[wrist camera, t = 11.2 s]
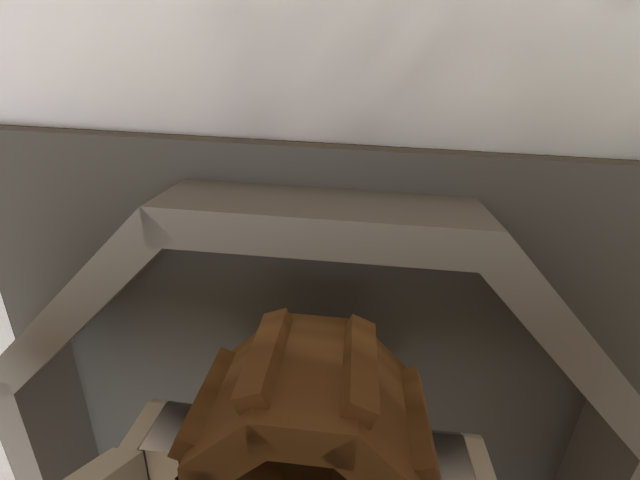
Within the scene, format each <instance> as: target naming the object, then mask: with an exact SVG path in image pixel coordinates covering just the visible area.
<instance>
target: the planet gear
mask: <svg viewBox="0 0 640 480" xmlns="http://www.w3.org/2000/svg"><path fill="white" fill-rule="evenodd" d="M167 457H169V458H172V459H174V460H177V461H179V462H180V464H179V466H178V468H177V471H178V478H179V480H441V475H440V470H439V465H438V460H437V455H436V450H435V445H434V440H433V435H432V430H431V425H430V420H429V415H428V410H427V405H426V400H425V395H424V389H423V384H422V381H421V378H420V375H419V372H418V369H417V366H413V367H408V368H406V367H405V366H404V365H403V364H402V363H401V362H400V361H399V360H398V358H397V357H396V356H395V355H394V354H393V353H392V352H391V351H390V350H389V349H388V348H387V347H386V346H385V345H384V344H383V343H382V342H381V341H380V340H379V339H378V338H377V337H376V326H375V323H372V322H370V321H368V320H366V319H363V318H361V317H359V316H357V315H355V314H352V316H351V317H350V318H339V317H328V316H317V315H306V314H295V313H289V312H288V310H287V308H284V309H280V310H276V311H272V312H268V313H265V314H264V315H263V317H262V320H261V322H260V325H259V327H258V330H257V332H255V333H254V334H253V335H252V336H250V337H249V338H248V339H246V340H245V341H244V342H242V343H241V344H240V345H238V346H237V347H236V348H234V349H233V350H232V351H230V350H228V349H225V348H223V347H221V348H220V350H219V352H218V354H217V356H216V358H215V360H214V362H213V364H212V366H211V368H210V370H209V372H208V374H207V376H206V378H205V380H204V382H203V384H202V386H201V388H200V390H199V392H198V394H197V396H196V398H195V400H194V402H193V404H192V406H191V408H190V410H189V412H188V414H187V416H186V418H185V420H184V422H183V424H182V426H181V428H180V430H179V432H178V434H177V436H176V438H175V440H174V442H173V444H172V446H171V449H170V451H169V453H168V455H167Z"/></svg>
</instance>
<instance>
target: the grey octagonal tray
mask: <svg viewBox="0 0 640 480" xmlns="http://www.w3.org/2000/svg"><path fill="white" fill-rule="evenodd" d="M0 292H1V295H2V298H3V302H4V305H5V308H6V311H7V314H8V317H9V320H10V324H11V327H12V330H13V333H14V336H15V340H14V342H13V343H12V344H11V345H10V346H9V347H8V348H7V349H6V350H5V351H4V352H3V353H2V354H1V356H0V440H1V443H2V446H3V448H4V451H5V453H6V456H7V459H8V461H9V464H10V466H11V469H12V472H13V474H14V477H15V480H63V479H64V478H66V477H67V476H69V475H70V474H72V473H73V472H75V471H76V470H78V469H80V468H81V467H83V466H84V465H86V464H87V463H89V462H90V461H92V460H93V459H95V458H97V457H98V456H100V455H101V454H103V453H104V452H106V451H107V450H109V449H110V448H112V447H114V448H118V446H119V445H120V443H121V442H122V440H123V439H124V437H125V436H126V434H127V432H128V431H129V429H130V428H131V426H132V425H133V423H134V422H135V420H136V419H137V417H138V416H139V414H140V412H141V411H142V409H143V408H144V406H145V405H146V403H147V402H149V401H150V400H151V399H158V400H165V401H175V402H182V403H189V404H193V402H194V400H195V398H196V396H197V394H198V392H199V390H200V388H201V386H202V384H203V382H204V380H205V378H206V376H207V374H208V372H209V370H210V368H211V366H212V364H213V362H214V360H215V358H216V356H217V354H218V352H219V350H220V348H221V347H223V348H225V349H228V350H230V351H232V350H233V349H234V348H236V347H237V346H238V345H240V344H241V343H242V342H244V341H245V340H246V339H248V338H249V337H250V336H252V335H253V334H254V333H255V332H257V330H258V327H259V325H260V322H261V320H262V317H263V315H264V314H265V313H268V312H272V311H276V310H280V309H284V308H287V310H288V312H289V313H295V314H306V315H317V316H328V317H339V318H350V317H351V316H352V314H355V315H357V316H359V317H361V318H363V319H366V320H368V321H370V322H372V323H375V326H376V337H377V338H378V339H379V340H380V341H381V342H382V343H383V344H384V345H385V346H386V347H387V348H388V349H389V350H390V351H391V352H392V353H393V354H394V355H395V356H396V357H397V358H398V360H399V361H400V362H401V363H402V364H403V365H404V366H405V367H406V368H408V367H413V366H417V369H418V372H419V375H420V378H421V381H422V384H423V389H424V395H425V400H426V405H427V410H428V415H429V420H430V425H431V430H439V431H449V432H459V433H467V434H477V435H481V436H482V438H483V440H484V442H485V445H486V448H487V451H488V454H489V457H490V460H491V463H492V466H493V469H494V472H495V475H496V478H497V480H640V161H638V160H620V159H602V158H584V157H566V156H548V155H531V154H513V153H495V152H477V151H459V150H441V149H423V148H405V147H388V146H370V145H352V144H334V143H316V142H298V141H280V140H262V139H245V138H227V137H209V136H191V135H173V134H155V133H137V132H119V131H102V130H84V129H66V128H48V127H30V126H12V125H0Z"/></svg>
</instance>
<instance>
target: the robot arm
mask: <svg viewBox="0 0 640 480" xmlns="http://www.w3.org/2000/svg"><path fill="white" fill-rule="evenodd" d="M191 406H192V404H189V403H182V402H175V401H165V400H158V399H151V400H150V401H149V402H147V403H146V405H145V406H144V408H143V409H142V411H141V412H140V414H139V416H138V417H137V419H136V420H135V422H134V423H133V425H132V426H131V428H130V429H129V431H128V432H127V434H126V436H125V437H124V439H123V440H122V442H121V443H120V445H119V446H118V448H114V447H112V448H110V449H109V450H107V451H106V452H104V453H103V454H101V455H100V456H98V457H97V458H95V459H93V460H92V461H90V462H89V463H87V464H86V465H84V466H83V467H81V468H80V469H78V470H76V471H75V472H73V473H72V474H70V475H69V476H67V477H66V478H64V479H63V480H179V478H178V471H177V468H178V466H179V464H180V462H179V461H177V460H174V459H172V458H169V457H167V455H168V453H169V451H170V449H171V446H172V444H173V442H174V440H175V438H176V436H177V434H178V432H179V430H180V428H181V426H182V424H183V422H184V420H185V418H186V416H187V414H188V412H189V410H190V408H191ZM432 435H433V440H434V445H435V450H436V455H437V460H438V465H439V470H440V475H441V480H497V478H496V475H495V472H494V469H493V466H492V463H491V460H490V457H489V454H488V451H487V448H486V445H485V442H484V440H483V438H482V436H481V435H477V434H467V433H459V432H449V431H439V430H432Z"/></svg>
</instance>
